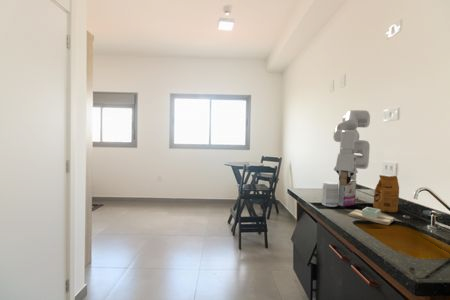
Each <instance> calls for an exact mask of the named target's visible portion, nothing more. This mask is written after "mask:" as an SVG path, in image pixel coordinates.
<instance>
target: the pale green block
mask: <svg viewBox="0 0 450 300" xmlns="http://www.w3.org/2000/svg"><path fill="white" fill-rule="evenodd" d="M381 213H382V212H381V210H380V209H375V208H374V207H369V206H366V207H365V208H362V216H367V217H371V218H377V217H379V216H380V214H381Z"/></svg>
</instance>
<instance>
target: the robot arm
mask: <svg viewBox="0 0 450 300" xmlns="http://www.w3.org/2000/svg"><path fill="white" fill-rule="evenodd" d="M370 123H371V115H370V113H369V111H368V110H366V109H365V110H364V109H362V110H361V109H359V110H358V109H357V110H349V111H347V112H346V114H345V115H344V116H343V117H342V122H340V123H338V124H337V125H336V127H335V129H334V131H333V140H334V141H335V142H337V143H340V145H339V153H338V154H337V158H336V164H335V166H334V168H333V171H335V172H336V173H337V175H338V176H339V177H338V182H339V181H340V175H341V171H348V177H347V184H348V183H350V182H351V180H356V181H357V174H358V169H359V170H366V169H368V167H369V164H370V163H369V162H370V161H369V160H370V142H369V141H368V140H365V139H364V140H363V139H362V140H360V133H359V131H358V129H357V128H365V129H366V128H368V127H369V126H370ZM355 199H356V200H357V199H358V198H357V196H355Z"/></svg>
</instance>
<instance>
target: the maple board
mask: <svg viewBox="0 0 450 300" xmlns="http://www.w3.org/2000/svg"><path fill="white" fill-rule="evenodd" d="M348 217H350V218H351V217H352V218H355V217H356V219H359V218H360V220H364V221H369V222H373V223H377V224H381V225H386V226H389V225H390V224H391V223H392V222H394V221H395V217H394V216H390V215H385V214H381V213H380V216H379V217H377V218H371V217H367V216H362V210H361V209H354V210H352V211H351V212H349V213H348Z"/></svg>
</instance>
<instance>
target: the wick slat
mask: <svg viewBox="0 0 450 300" xmlns="http://www.w3.org/2000/svg"><path fill="white" fill-rule="evenodd" d="M347 177H348V171H341V175H340V185H343V186H347V185H349V183H348V184H347Z"/></svg>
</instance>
